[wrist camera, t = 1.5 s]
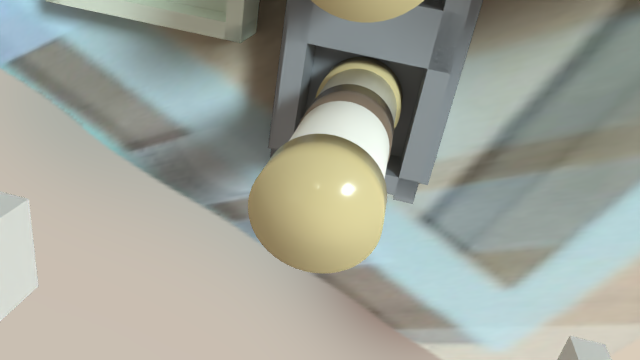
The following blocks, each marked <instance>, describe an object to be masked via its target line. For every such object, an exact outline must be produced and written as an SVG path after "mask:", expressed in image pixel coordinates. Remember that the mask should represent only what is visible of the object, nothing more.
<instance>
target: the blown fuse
mask: <svg viewBox="0 0 640 360" xmlns="http://www.w3.org/2000/svg"><path fill="white" fill-rule="evenodd" d="M402 98H403V95H402V88H401V85H400V82H399V80H398V78H397V76H396V75H395V73H394V72H393V71H392V70H391V69H390V68H389V67H388V66H387V65H386V64H384V63H382V62H381V61H379V60H376V59H373V58H370V57H352V58H348V59H346V60H343V61H341V62H340V63H338V64H337V65H335V66H334V67H333V68H332V69H331V70H330V71H329V73H328V74H327V75H326V77H325V78H324V80H323V81H322V83H321V85H320V86H319V88H318V91H317V94H316V98H315V100H314V101H313V102H312V104H311V105H310V107H309V108H308V110H307V111H306V113H305V114H304V116H303V118H302V119H301V121H300V123H299V124H298V127H297V129H296V131H295V132H294V134H293V135H292V137H291V138H290V140H289V141H288V142H286V143H285V144H284V145H282V146H281V147H280V148H279V149H278V150H277V151H276V152H275V153H274V154H273V155H272V157H271V158H270V160H269V161H268V162H267V164H266V165H265V167H264V168H263V170H262V171H261V173H260V174H259V176H258V177H257V179H256V180H255V182H254V184H253V186H252V189H251V191H250V195H249V200H248V212H249V219H250V223H251V225H252V228H253V231H254V232H255V234H256V236H257V238H258V239H259V241H260V242H261V244H262V245H263V246H264V247H265V248H266V249H267V250H268V251H269V252H270V253H271V254H272V255H273V256H274V257H276V258H277V259H279V260H280V261H282V262H284V263H285V264H287V265H289V266H291V267H294V268H296V269H299V270H303V271H307V272H312V273H334V272H339V271H343V270H346V269H349V268H352V267H354V266H355V265H357V264H359V263H360V262H362V261H363V260H365V259H366V258H367V257H368V256H369V255H370V254H371V253H372V251H373V250H374V249H375V247H376V245H377V243H378V242H379V239H380V236H381V234H382V228H383V222H384V216H385V209H386V203H387V187H386V183H385V173H386V168H387V164H388V161H389V158H390V152H391V147H392V141H393V135H394V129H395V127H396V125H397V123H398V121H399V118H400V113H401V107H402Z"/></svg>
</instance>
